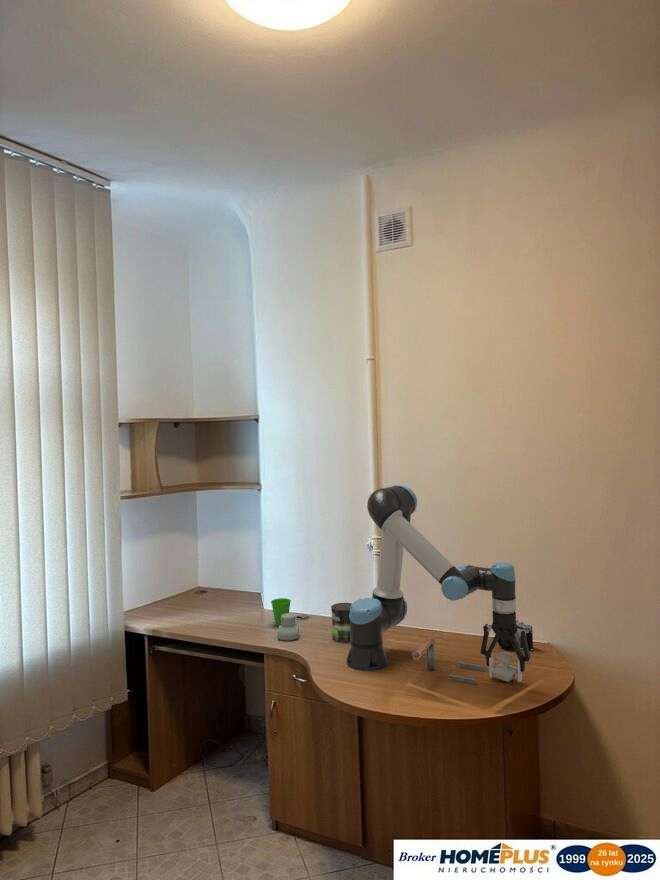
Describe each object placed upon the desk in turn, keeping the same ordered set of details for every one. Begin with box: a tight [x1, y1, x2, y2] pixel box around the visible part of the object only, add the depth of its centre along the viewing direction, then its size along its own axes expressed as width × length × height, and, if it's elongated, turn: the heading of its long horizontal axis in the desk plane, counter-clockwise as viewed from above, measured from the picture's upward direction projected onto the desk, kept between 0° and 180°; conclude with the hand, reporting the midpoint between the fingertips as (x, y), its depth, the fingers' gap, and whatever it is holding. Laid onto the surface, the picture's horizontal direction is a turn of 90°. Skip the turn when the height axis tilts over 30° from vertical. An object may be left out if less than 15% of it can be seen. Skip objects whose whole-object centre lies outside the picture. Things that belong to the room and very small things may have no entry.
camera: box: [497, 619, 534, 650], centre depth 235 cm, size 18×10×10 cm, turn 31°
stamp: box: [491, 651, 518, 682], centre depth 201 cm, size 9×7×8 cm
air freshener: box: [277, 612, 300, 642], centre depth 250 cm, size 11×8×10 cm
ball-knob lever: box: [411, 635, 436, 661], centre depth 206 cm, size 20×4×2 cm, turn 154°
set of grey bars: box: [425, 644, 486, 685], centre depth 210 cm, size 20×13×10 cm, turn 61°
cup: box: [270, 597, 292, 627], centre depth 267 cm, size 9×9×11 cm
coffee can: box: [330, 602, 353, 644], centre depth 247 cm, size 10×10×14 cm
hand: (505, 678), depth 201 cm, fingers closed on stamp, 8 cm apart
